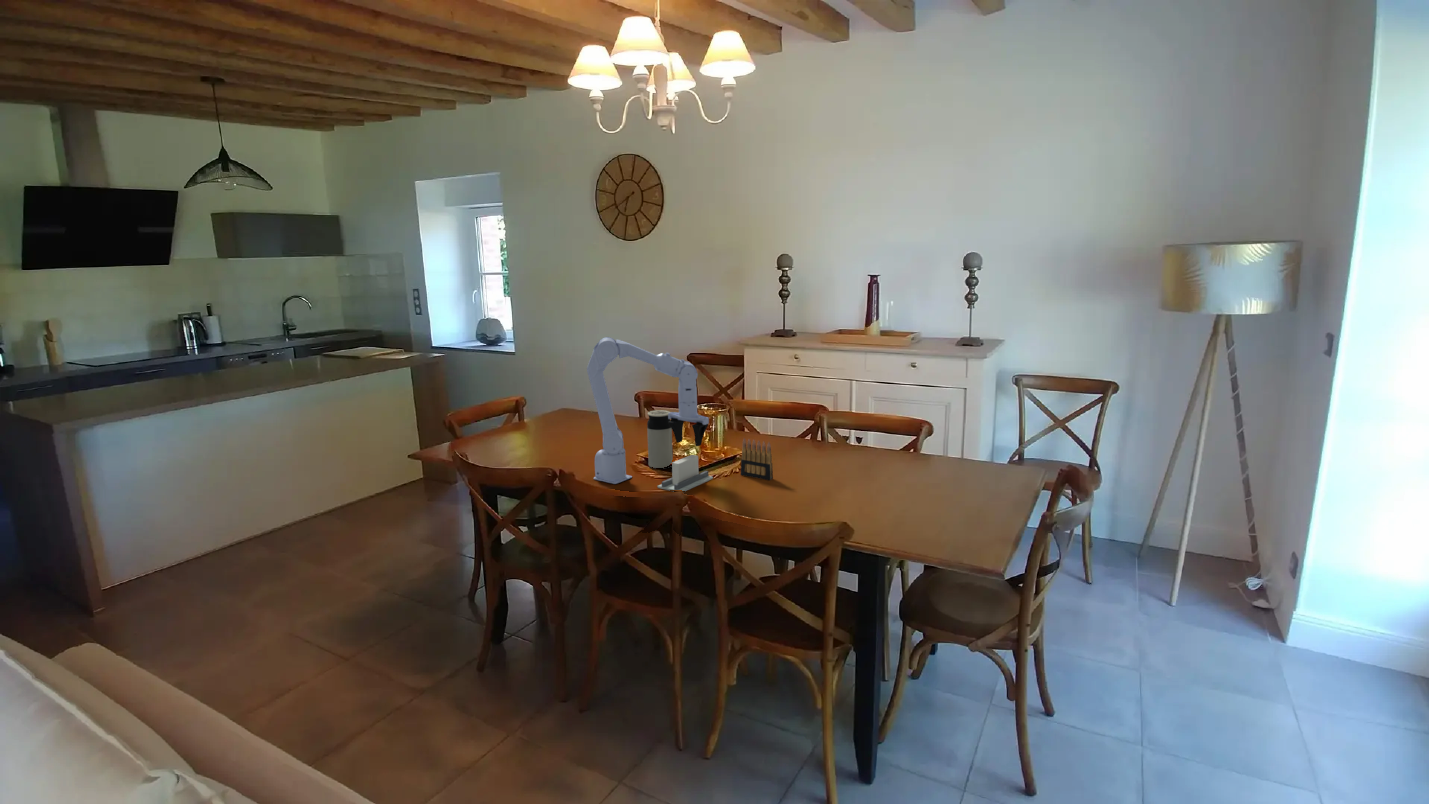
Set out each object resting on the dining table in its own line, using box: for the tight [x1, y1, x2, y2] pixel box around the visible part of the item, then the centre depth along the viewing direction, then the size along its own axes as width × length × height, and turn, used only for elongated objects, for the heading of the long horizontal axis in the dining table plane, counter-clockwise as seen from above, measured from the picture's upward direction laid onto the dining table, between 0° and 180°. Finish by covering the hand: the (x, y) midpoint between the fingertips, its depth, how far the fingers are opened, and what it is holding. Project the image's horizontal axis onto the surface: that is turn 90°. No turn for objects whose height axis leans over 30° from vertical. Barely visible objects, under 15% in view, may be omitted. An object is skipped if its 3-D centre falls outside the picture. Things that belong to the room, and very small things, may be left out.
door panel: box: [671, 454, 700, 485], centre depth 222 cm, size 2×10×7 cm, turn 145°
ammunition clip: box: [740, 437, 774, 481], centre depth 227 cm, size 11×2×12 cm, turn 56°
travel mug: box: [646, 409, 674, 469], centre depth 239 cm, size 8×8×18 cm
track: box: [657, 470, 714, 492], centre depth 223 cm, size 9×16×2 cm, turn 145°
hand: (688, 443), depth 229 cm, fingers open, 7 cm apart
